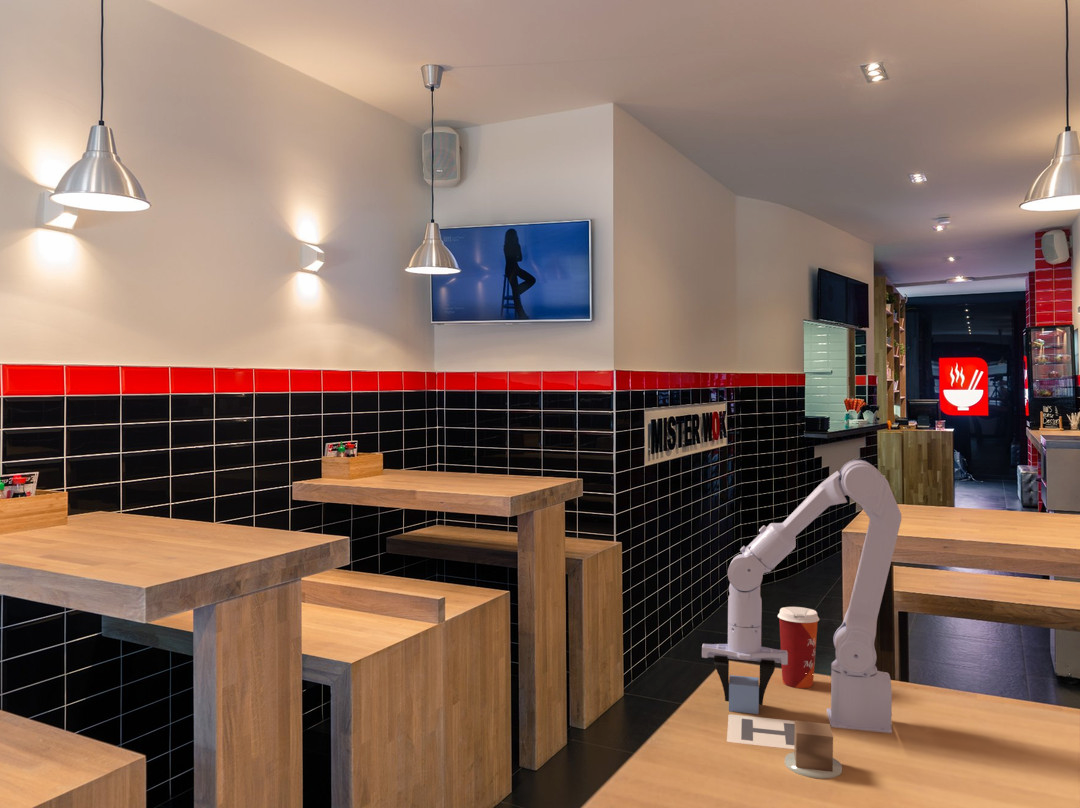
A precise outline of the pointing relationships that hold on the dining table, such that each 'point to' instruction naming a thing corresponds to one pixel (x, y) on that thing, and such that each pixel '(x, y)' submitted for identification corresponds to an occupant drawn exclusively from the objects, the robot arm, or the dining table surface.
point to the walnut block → (813, 746)
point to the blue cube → (744, 694)
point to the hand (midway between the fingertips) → (743, 701)
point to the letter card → (761, 731)
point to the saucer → (813, 773)
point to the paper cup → (798, 645)
